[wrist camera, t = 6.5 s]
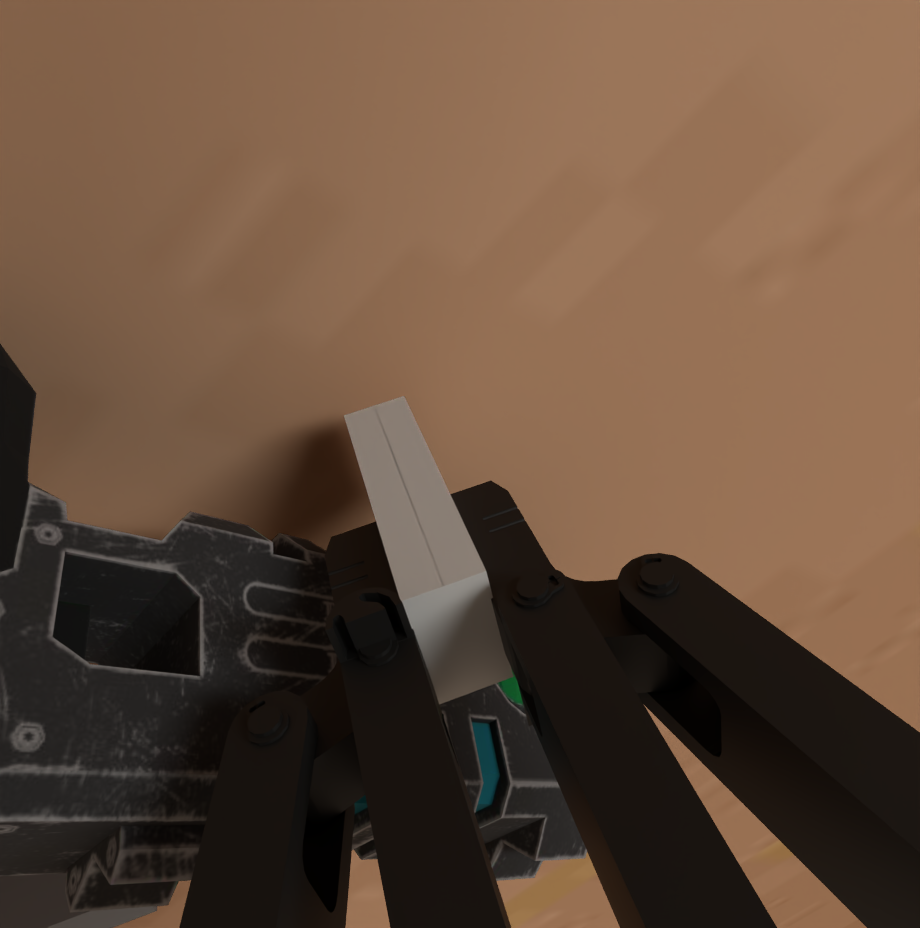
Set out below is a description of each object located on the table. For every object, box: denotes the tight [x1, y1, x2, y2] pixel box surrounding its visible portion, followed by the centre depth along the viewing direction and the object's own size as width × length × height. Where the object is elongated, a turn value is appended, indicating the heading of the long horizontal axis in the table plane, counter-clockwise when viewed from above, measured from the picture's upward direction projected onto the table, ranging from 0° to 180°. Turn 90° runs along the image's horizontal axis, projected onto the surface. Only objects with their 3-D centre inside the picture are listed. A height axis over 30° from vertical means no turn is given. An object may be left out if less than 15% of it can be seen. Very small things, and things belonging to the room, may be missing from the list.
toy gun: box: [0, 344, 587, 913], centre depth 16 cm, size 4×19×10 cm, turn 54°
